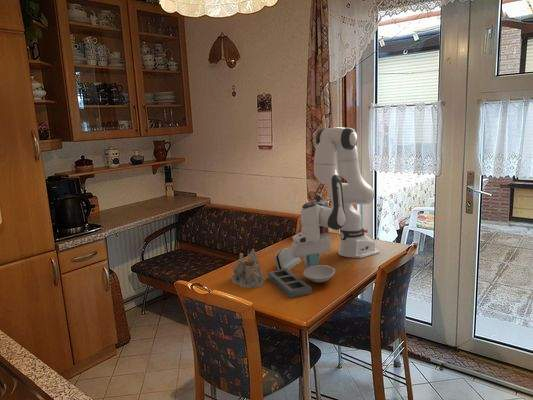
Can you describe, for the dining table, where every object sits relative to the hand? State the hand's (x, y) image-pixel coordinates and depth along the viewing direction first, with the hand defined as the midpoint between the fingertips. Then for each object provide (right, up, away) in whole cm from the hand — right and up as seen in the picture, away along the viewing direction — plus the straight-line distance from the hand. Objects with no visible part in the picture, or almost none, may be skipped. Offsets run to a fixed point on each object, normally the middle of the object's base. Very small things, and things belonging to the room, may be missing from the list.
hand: (311, 262), depth 206 cm
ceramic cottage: (-32, -8, -9) cm, 34 cm away
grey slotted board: (-12, -8, -17) cm, 22 cm away
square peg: (0, -3, +1) cm, 3 cm away
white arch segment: (-11, -3, +10) cm, 16 cm away
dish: (+2, -7, -14) cm, 16 cm away
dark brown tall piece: (+11, +7, +56) cm, 57 cm away
